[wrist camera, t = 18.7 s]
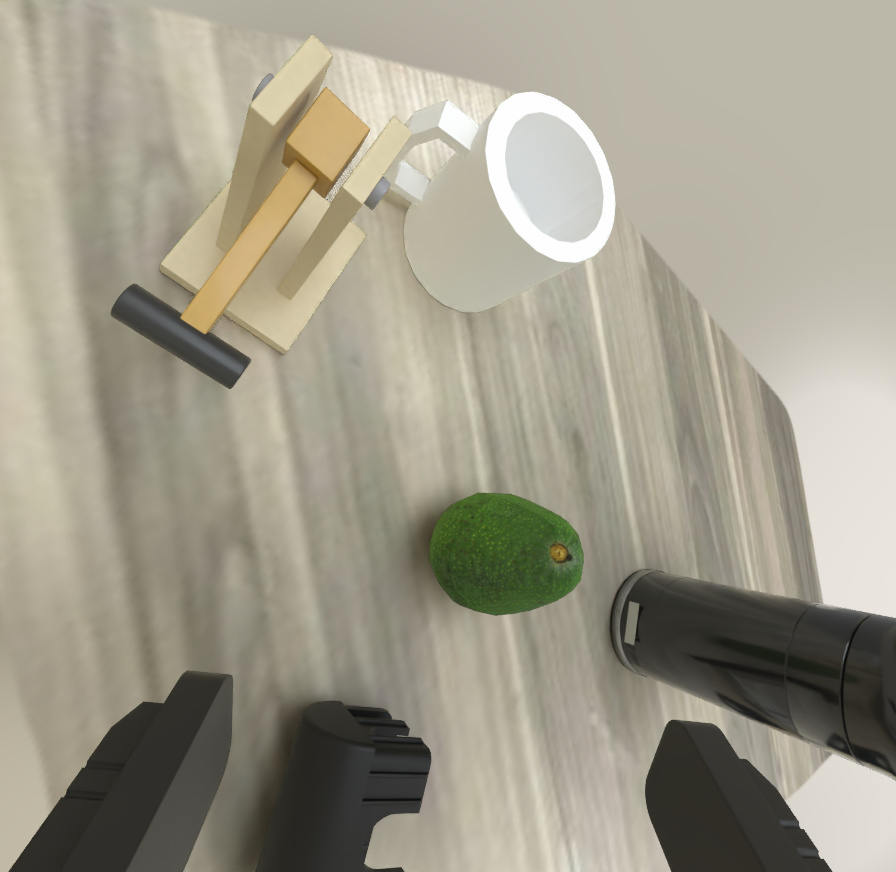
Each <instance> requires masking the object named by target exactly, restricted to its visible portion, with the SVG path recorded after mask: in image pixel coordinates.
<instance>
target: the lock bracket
mask: <svg viewBox="0 0 896 872" xmlns="http://www.w3.org/2000/svg"><path fill="white" fill-rule="evenodd" d="M332 57H333V54H332V53H331V52H330V51H329V50H328V49H327V48H326V47H325V46H324V45H323V44H322V43H321V42H320V41H319V40H318V39H317V38H316V37H315V36H314V35H311V36H310V37H309V38H308V39H307V40H306V42H305V43H304V44H303V45H302V46H301V47H300V48H299V49H298V51H297V52H296V53H295V54H294V55H293V56H292V57H291V58H290V60H289V61H288V62H287V63H286V64H285V65H284V66H283V67H282V69H281V70H280V71H279V72H278V73H277V74H276V75H275V76H274V75H273V74H268V75H267V76H265V78H264V79H263V80H262V81H261V83H260V84H259V86H258V87H257V89H256V91H255V93H254V95H253V98H252V102H251V104H250V105H249V109H248V113H247V117H246V122H245V126H244V130H243V134H242V138H241V142H240V147H239V151H238V155H237V159H236V163H235V167H234V172H233V176H232V179H231V180H230V181H229V182H228V184H227V185H226V186H225V187H224V188H223V190H222V191H221V192H220V193H219V194H218V195H217V197H216V198H215V199H214V200H213V201H212V203H211V204H210V205H209V206H208V207H207V209H206V210H205V211H204V212H203V213H202V214H201V216H200V217H199V218H198V219H197V220H196V222H195V223H194V224H193V225H192V226H191V228H190V229H189V230H188V231H187V232H186V233H185V235H184V236H183V237H182V238H181V239H180V241H179V242H178V243H177V244H176V245H175V247H174V248H173V249H172V250H171V251H170V252H169V254H168V255H167V256H166V257H165V258H164V260H163V261H162V262H161V263H160V271H161V272H162V273H164V274H165V275H167V276H168V277H170V278H171V279H173V280H174V281H175V282H177V283H178V284H180V285H181V286H183V287H184V288H186V289H187V290H189V291H190V292H192V293H193V294H195V295H196V294H197V293H198V292H199V290H200V289H201V287H202V286H203V285H204V283H205V282H206V281H207V279H208V278H209V277H210V275H211V274H212V272H213V271H214V270H215V268H216V267H217V266H218V264H219V263H220V261H221V260H222V259H223V257H224V256H225V255H226V253H227V252H228V251H229V249H230V248H231V246H232V245H233V244H234V242H235V241H236V240H237V238H238V237H239V235H240V234H241V233H242V231H243V230H244V229H245V227H246V226H247V224H248V223H249V222H250V220H251V219H252V218H253V216H254V215H255V214H256V212H257V211H258V209H259V208H260V207H261V205H262V204H263V203H264V201H265V200H266V198H267V197H268V196H269V194H270V193H271V192H272V190H273V189H274V188H275V186H276V185H277V183H278V182H279V181H280V179H281V178H282V177H283V175H284V174H285V172H286V171H287V170H288V168H287V167H286V166H285V165H284V164H283V163H282V159H283V153H284V148H285V143H286V140H287V138H288V137H289V135H290V134H291V133H292V131H293V130H294V129H295V127H296V126H297V125H298V123H299V122H300V120H301V119H302V118H303V116H304V115H305V114H306V112H307V111H308V110H309V108H310V107H311V106H312V104H313V103H314V101H315V99H316V96H317V94H318V91H319V89H320V86H321V84H322V82H323V79H324V77H325V74H326V72H327V69H328V67H329V65H330V62H331V60H332ZM411 135H412V132H411V131H410V130H409V129H408V128H407V127H406V126H405V125H404V124H403V123H402V122H401V121H400V120H399V119H398V118H397V117H396V116H393V117H392V119H391V120H390V121H389V123H388V124H387V125H386V127H385V128H384V129H383V131H382V132H381V134H380V135H379V136H378V138H377V139H376V140H375V142H374V143H373V144H372V146H371V147H370V149H369V150H368V151H367V153H366V154H365V155H364V157H363V158H362V159H361V161H360V162H359V164H358V165H357V166H356V168H355V169H354V170H353V172H352V173H351V175H350V176H349V177H348V179H347V180H346V181H345V183H344V184H343V185H342V187H341V189H340V190H339V192H338V193H337V195H336V196H335V198H334V200H333V201H332V203H331V204H330V203H329V202H328V201H327V200H325V199H324V198H323V197H321V196H320V195H319V194H318V193H317V192H316V191H314V190H312V191H311V192H310V194H309V195H308V197H307V198H306V199H305V201H304V202H303V204H302V205H301V206H300V208H299V209H298V210H297V212H296V213H295V215H294V216H293V217H292V219H291V220H290V222H289V223H288V224H287V226H286V227H285V228H284V230H283V231H282V233H281V234H280V235H279V237H278V238H277V240H276V241H275V242H274V244H273V245H272V246H271V248H270V249H269V251H268V252H267V253H266V255H265V256H264V258H263V259H262V260H261V262H260V263H259V264H258V266H257V267H256V269H255V270H254V271H253V273H252V274H251V276H250V277H249V278H248V280H247V281H246V283H245V284H244V285H243V287H242V288H241V289H240V291H239V292H238V294H237V295H236V296H235V298H234V299H233V301H232V302H231V303H230V305H229V306H228V307H227V309H226V310H225V312H224V313H223V314H224V315H226V316H227V317H229V318H230V319H232V320H233V321H234V322H236V323H237V324H239V325H240V326H242V327H243V328H245V329H246V330H248V331H249V332H251V333H252V334H254V335H255V336H257V337H258V338H260V339H261V340H262V341H264V342H265V343H267V344H268V345H270V346H271V347H273V348H274V349H276V350H277V351H279V352H280V353H282V354H283V355H284V354H285V353H286V352H287V351H288V350H289V349H290V347H291V346H292V344H293V343H294V341H295V340H296V338H297V337H298V335H299V334H300V332H301V331H302V329H303V328H304V326H305V325H306V324H307V322H308V321H309V319H310V318H311V316H312V315H313V313H314V312H315V310H316V309H317V307H318V306H319V304H320V303H321V301H322V300H323V298H324V297H325V295H326V294H327V293H328V291H329V290H330V288H331V287H332V285H333V284H334V282H335V281H336V279H337V278H338V276H339V275H340V273H341V272H342V270H343V269H344V267H345V266H346V265H347V263H348V262H349V260H350V259H351V257H352V256H353V254H354V253H355V251H356V250H357V248H358V247H359V245H360V244H361V242H362V241H363V239H364V238H365V237H366V234H365V233H364V232H363V231H362V230H361V229H360V228H358V227H357V226H356V225H355V224H354V223H352V222H351V220H352V218H353V217H354V216H355V214H356V213H357V212H358V210H359V209H360V208H361V206H362V205H363V204H365V205H367V206H368V207H369V208H370V209H371V210H373V209H374V208H375V207H376V205H377V204H378V203H379V201H380V200H381V199H382V197H383V196H384V194H385V193H386V192H387V190H388V189H389V187H390V185H391V184H390V182H388V181H387V180H386V179H385V178H384V177H383V175H384V174H385V172H386V171H387V169H388V168H389V166H390V165H391V164H392V162H393V161H394V159H395V158H396V156H397V155H398V154H399V152H400V151H401V149H402V148H403V146H404V145H405V144H406V142H407V141H408V139H409V138H410V136H411Z"/></svg>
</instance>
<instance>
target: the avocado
mask: <svg viewBox="0 0 896 872" xmlns="http://www.w3.org/2000/svg"><path fill="white" fill-rule="evenodd" d="M429 559H430V562H431V565H432V568H433V571H434V574H435V576H436V578H437V580H438V582H439V584H440V585H441V587H442V588H443V589H444V590H445V591H446V593H447V594H448V595H449V596H450V598H451V599H452V600H453V601H454V602H456V603H457V604H459V605H461V606H463V607H466V608H469V609H472V610H475V611H478V612H482V613H486V614H491V615H495V616H497V615H506V614H514V613H520V612H525V611H530V610H533V609H536V608H539V607H541V606H544V605H547V604H549V603H552V602H555V601H557V600H559V599H561V598H562V597H564V596H565V595H567V594H568V593H569V592H571V591H572V590H573V589H574V588H575V587H576V586H577V584H578V583H579V582H580V581H581V575H582V569H583V563H584V554H583V550H582V547H581V543H580V539H579V536H578V534H577V532H576V531H575V530H574V529H573V527H572V526H571V525H570V524H569V522H567V521H566V520H565V519H563V518H562V517H561V516H559V515H557V514H555V513H554V512H552V511H550V510H548V509H546V508H544V507H541V506H539V505H537V504H535V503H533V502H531V501H529V500H526V499H523V498H521V497H518V496H515V495H512V494H500V493H476V494H474V495H472V496H470V497H467V498H465V499H463V500H460V501H458V502H456V503H454V504H452V505H450V506H449V507H448V508H447V509H446V510H445V511H444V513H443V514H442V515H441V516H440V518H439V520H438V522H437V523H436V525H435V528H434V531H433V534H432V537H431V542H430V554H429Z"/></svg>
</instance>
